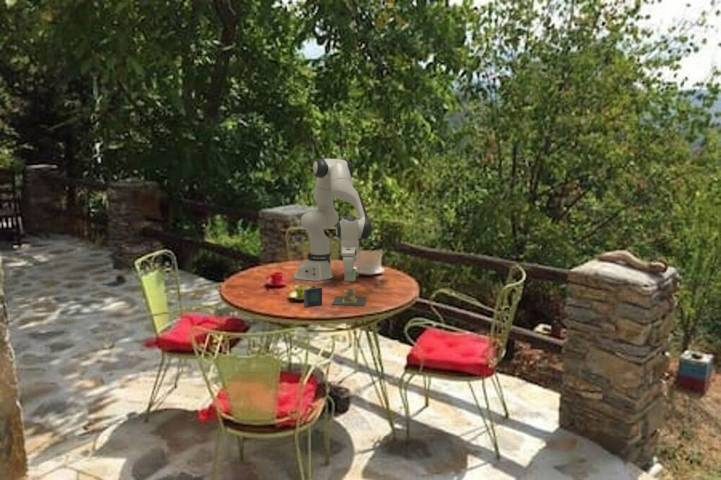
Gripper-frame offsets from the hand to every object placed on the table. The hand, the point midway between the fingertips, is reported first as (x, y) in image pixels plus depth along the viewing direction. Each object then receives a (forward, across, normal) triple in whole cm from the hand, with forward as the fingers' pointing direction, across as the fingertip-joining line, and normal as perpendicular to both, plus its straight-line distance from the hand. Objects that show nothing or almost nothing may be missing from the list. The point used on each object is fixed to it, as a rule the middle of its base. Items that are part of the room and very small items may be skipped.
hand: (350, 276), depth 288 cm
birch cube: (+12, 0, 0) cm, 12 cm away
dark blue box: (+13, +8, -17) cm, 23 cm away
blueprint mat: (+13, 0, 0) cm, 13 cm away
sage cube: (+2, 0, 0) cm, 2 cm away
